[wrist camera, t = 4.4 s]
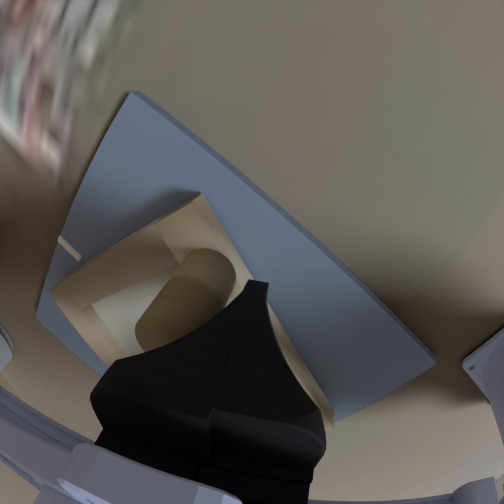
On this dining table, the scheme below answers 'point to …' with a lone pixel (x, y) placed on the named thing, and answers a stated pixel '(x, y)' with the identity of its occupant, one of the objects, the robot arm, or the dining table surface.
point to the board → (248, 247)
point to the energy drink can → (5, 348)
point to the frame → (166, 291)
